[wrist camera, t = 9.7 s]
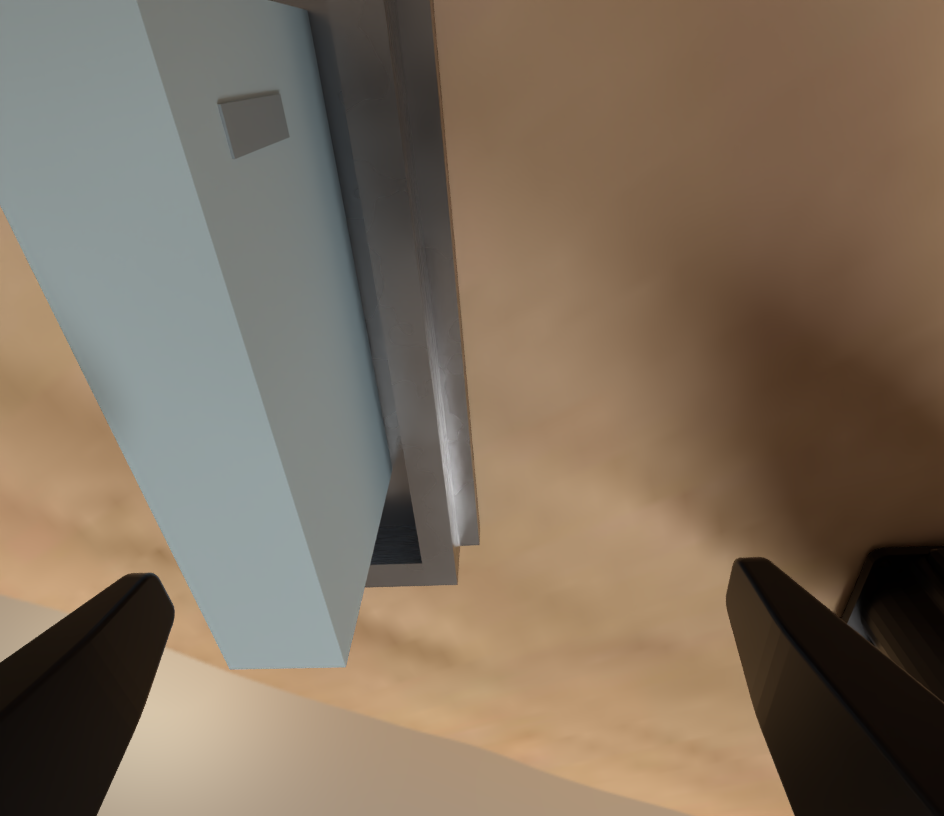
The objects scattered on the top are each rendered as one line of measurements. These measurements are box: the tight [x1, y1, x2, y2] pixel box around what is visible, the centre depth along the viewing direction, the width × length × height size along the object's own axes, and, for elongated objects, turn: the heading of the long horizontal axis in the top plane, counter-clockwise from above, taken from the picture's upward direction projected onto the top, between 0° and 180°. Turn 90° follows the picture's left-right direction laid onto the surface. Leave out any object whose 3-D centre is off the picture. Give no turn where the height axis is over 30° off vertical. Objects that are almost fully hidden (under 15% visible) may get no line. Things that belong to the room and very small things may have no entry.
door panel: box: [0, 0, 392, 669], centre depth 14 cm, size 14×3×8 cm, turn 4°
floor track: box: [270, 0, 480, 587], centre depth 17 cm, size 22×9×3 cm, turn 4°
